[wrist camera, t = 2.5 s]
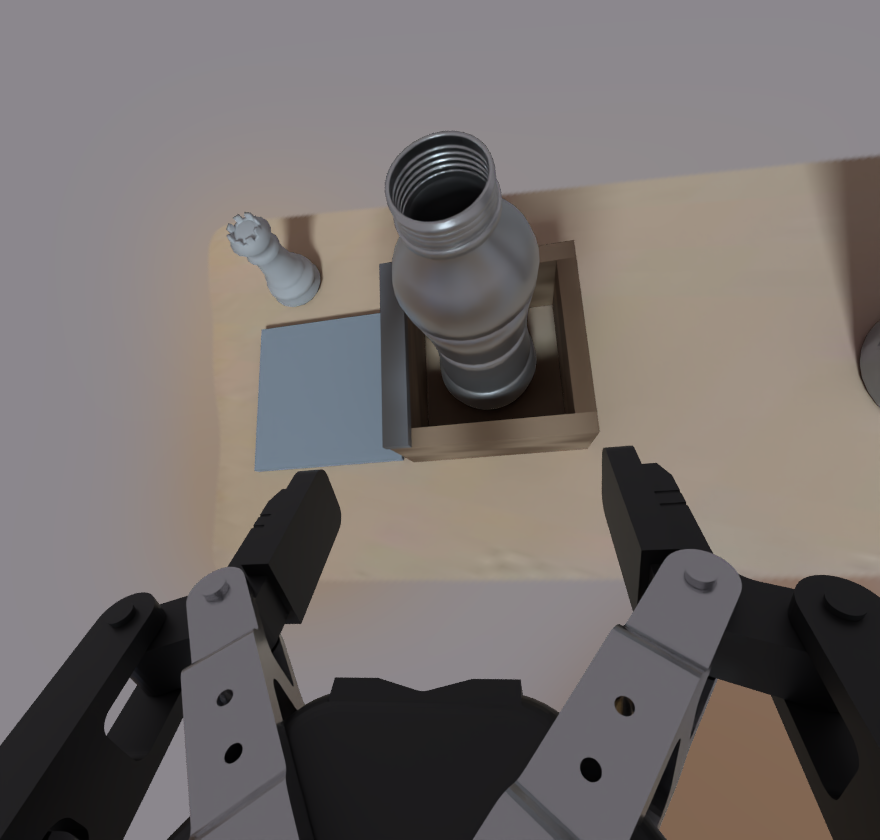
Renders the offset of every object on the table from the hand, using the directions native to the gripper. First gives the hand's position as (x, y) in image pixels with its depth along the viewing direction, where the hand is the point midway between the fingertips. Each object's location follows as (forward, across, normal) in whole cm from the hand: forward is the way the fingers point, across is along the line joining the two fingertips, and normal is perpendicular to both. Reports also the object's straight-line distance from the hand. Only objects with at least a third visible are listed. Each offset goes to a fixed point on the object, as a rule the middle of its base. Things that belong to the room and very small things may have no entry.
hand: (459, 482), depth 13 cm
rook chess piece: (+28, +16, 0) cm, 32 cm away
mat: (+20, +13, +7) cm, 25 cm away
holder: (+20, 0, +7) cm, 22 cm away
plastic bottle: (+21, 0, +7) cm, 22 cm away
